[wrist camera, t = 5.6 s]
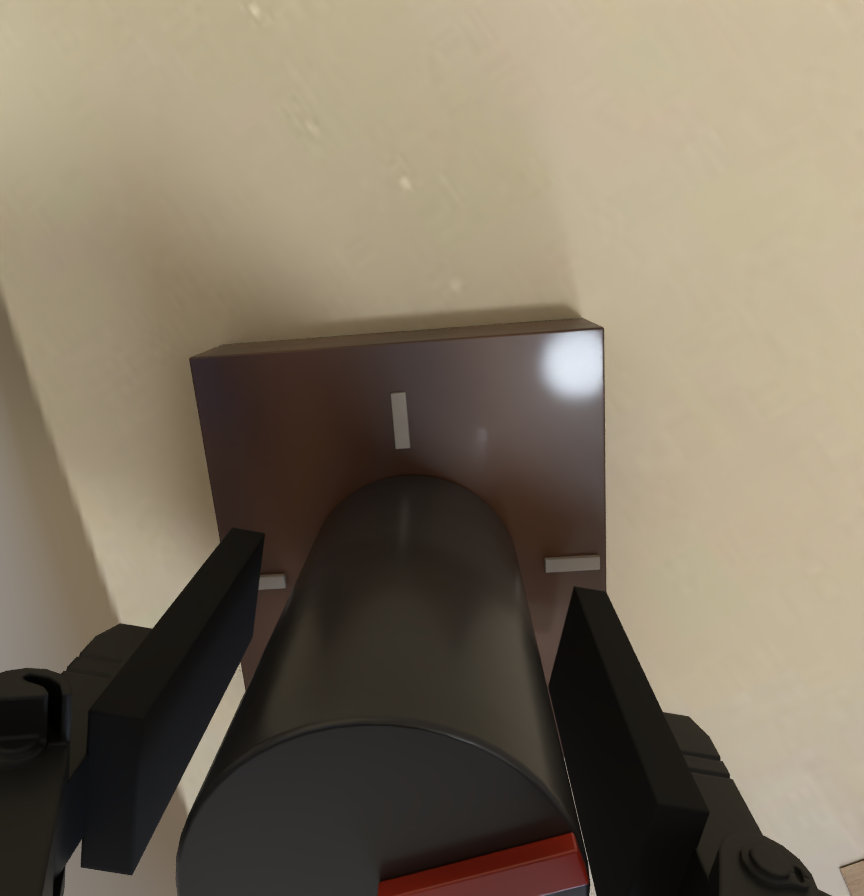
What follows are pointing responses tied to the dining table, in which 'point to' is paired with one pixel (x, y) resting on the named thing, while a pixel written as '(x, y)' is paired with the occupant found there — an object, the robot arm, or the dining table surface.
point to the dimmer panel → (414, 445)
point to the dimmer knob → (394, 722)
